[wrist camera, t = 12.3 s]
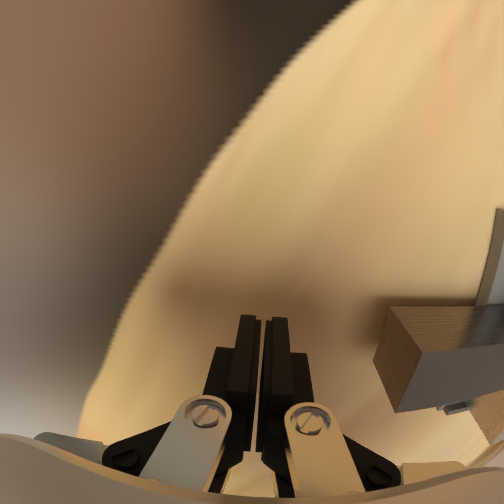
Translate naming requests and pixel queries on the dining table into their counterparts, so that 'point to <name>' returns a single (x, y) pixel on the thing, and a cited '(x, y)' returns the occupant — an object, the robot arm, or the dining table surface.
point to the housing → (445, 361)
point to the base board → (488, 288)
